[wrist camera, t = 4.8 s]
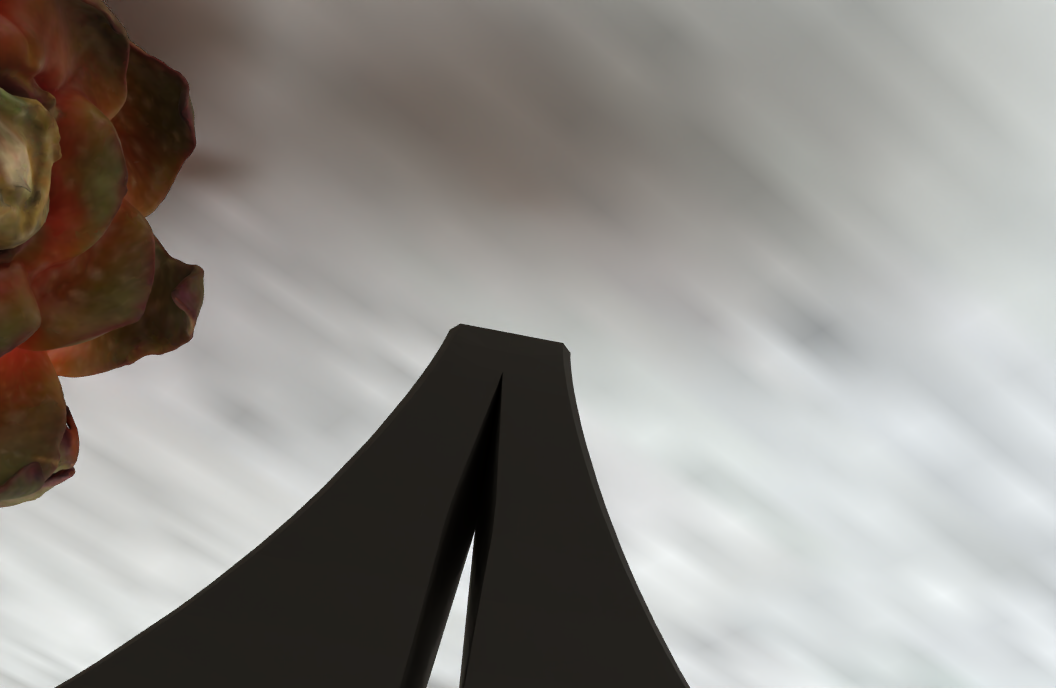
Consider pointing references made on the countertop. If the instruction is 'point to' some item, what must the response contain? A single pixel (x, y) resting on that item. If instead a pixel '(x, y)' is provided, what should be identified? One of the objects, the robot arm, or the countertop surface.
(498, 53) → the countertop surface
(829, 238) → the countertop surface
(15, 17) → the dragon fruit
